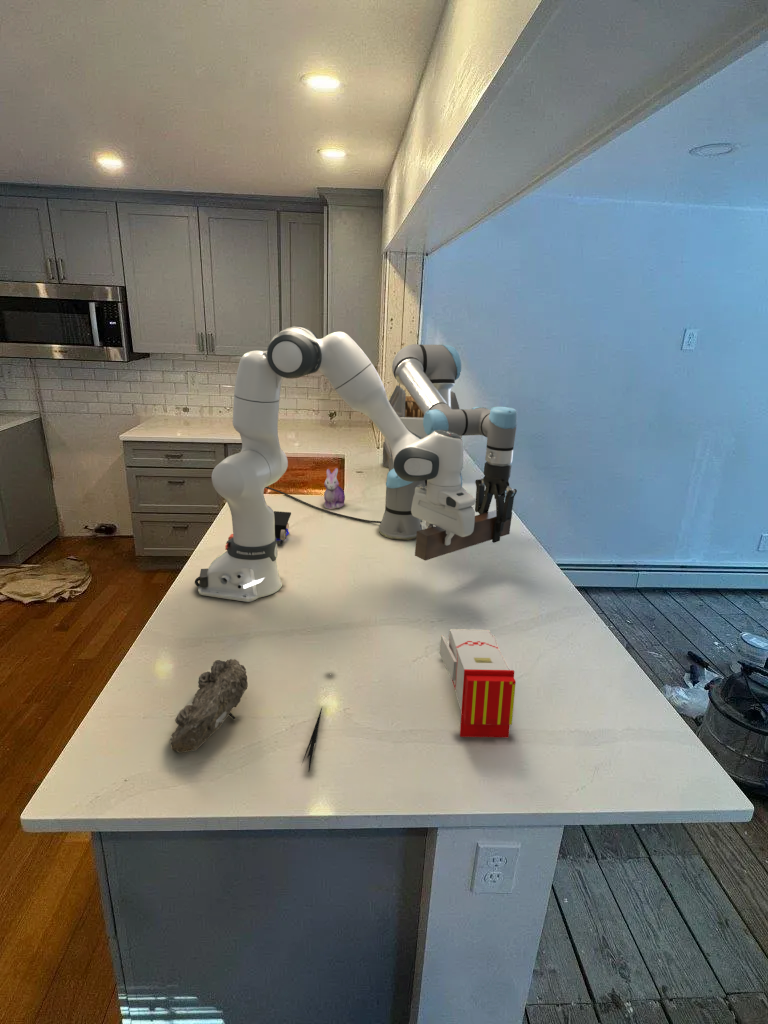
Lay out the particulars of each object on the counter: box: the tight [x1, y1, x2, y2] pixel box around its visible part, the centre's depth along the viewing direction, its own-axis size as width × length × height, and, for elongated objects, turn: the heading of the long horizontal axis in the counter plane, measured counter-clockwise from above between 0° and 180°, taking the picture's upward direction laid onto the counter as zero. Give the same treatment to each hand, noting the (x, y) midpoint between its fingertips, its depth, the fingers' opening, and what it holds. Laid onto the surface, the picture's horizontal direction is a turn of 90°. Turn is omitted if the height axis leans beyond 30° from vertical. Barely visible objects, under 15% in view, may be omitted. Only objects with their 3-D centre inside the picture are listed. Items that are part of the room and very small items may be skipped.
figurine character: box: [273, 510, 292, 545], centre depth 190 cm, size 7×8×15 cm
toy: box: [438, 628, 517, 738], centre depth 117 cm, size 12×13×30 cm
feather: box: [301, 673, 332, 771], centre depth 108 cm, size 2×28×2 cm
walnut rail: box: [414, 509, 513, 562], centre depth 160 cm, size 36×4×7 cm, turn 131°
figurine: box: [323, 467, 346, 510], centre depth 222 cm, size 9×10×15 cm
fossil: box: [170, 658, 249, 753], centre depth 106 cm, size 22×10×15 cm
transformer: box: [381, 384, 463, 472], centre depth 268 cm, size 34×33×41 cm
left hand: (439, 541), depth 153 cm, fingers closed on walnut rail, 4 cm apart
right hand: (489, 538), depth 169 cm, fingers closed on walnut rail, 4 cm apart
